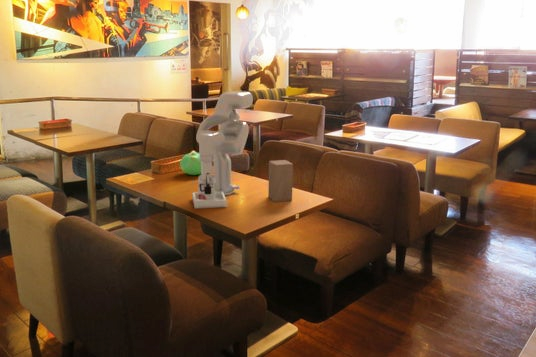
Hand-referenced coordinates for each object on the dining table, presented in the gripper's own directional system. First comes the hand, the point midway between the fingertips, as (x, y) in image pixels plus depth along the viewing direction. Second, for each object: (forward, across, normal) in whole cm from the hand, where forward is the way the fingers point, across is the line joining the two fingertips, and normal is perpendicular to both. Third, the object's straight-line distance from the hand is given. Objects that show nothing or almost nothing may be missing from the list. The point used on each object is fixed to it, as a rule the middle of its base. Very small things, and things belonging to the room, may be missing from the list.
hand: (207, 191), depth 258 cm
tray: (+6, 0, +1) cm, 6 cm away
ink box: (+4, 0, 0) cm, 4 cm away
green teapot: (+6, -60, -2) cm, 60 cm away
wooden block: (+6, -2, +39) cm, 40 cm away
